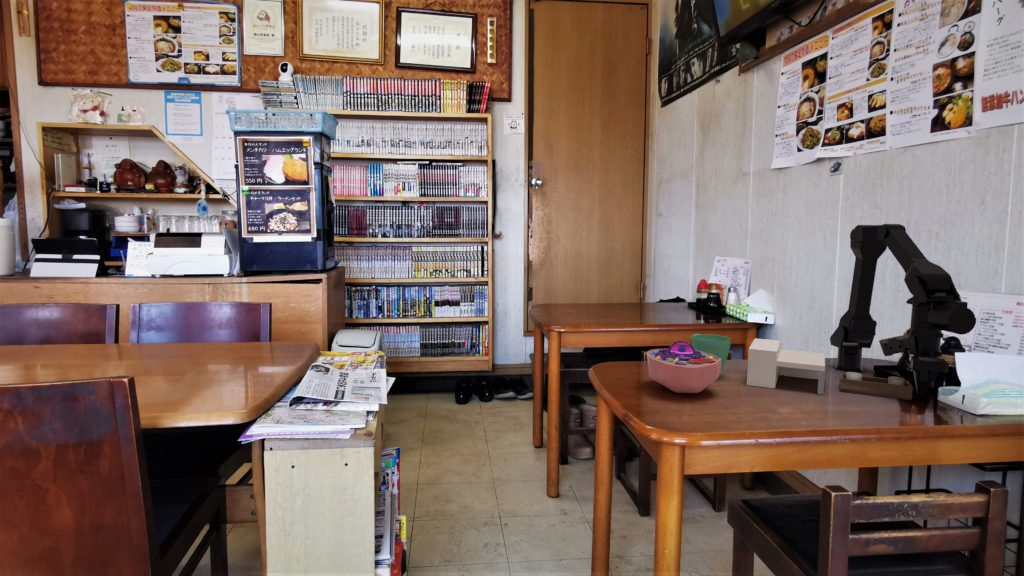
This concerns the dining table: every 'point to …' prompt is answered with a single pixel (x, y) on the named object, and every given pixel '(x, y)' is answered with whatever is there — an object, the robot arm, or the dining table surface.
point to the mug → (712, 345)
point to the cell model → (683, 367)
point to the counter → (782, 364)
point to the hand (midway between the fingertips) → (920, 394)
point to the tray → (875, 386)
